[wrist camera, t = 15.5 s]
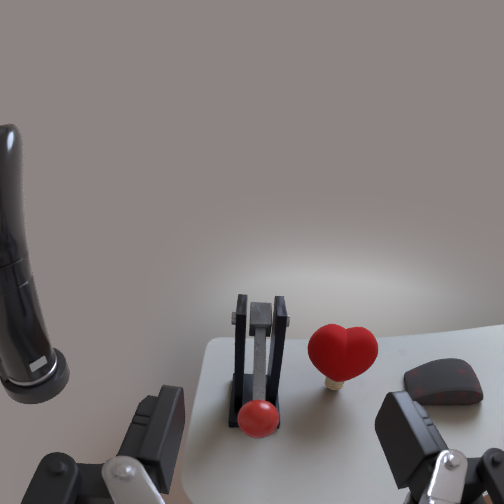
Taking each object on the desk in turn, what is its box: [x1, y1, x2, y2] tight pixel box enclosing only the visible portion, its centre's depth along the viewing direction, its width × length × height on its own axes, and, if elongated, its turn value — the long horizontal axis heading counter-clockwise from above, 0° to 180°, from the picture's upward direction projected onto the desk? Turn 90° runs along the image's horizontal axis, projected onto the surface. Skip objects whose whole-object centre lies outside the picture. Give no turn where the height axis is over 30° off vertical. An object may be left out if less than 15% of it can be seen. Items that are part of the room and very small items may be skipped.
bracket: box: [229, 294, 290, 429], centre depth 33 cm, size 9×6×15 cm, turn 179°
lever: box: [237, 302, 279, 438], centre depth 27 cm, size 14×4×4 cm, turn 179°
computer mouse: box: [404, 358, 483, 405], centre depth 34 cm, size 8×14×4 cm, turn 74°
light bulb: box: [308, 324, 378, 390], centre depth 37 cm, size 9×7×10 cm
